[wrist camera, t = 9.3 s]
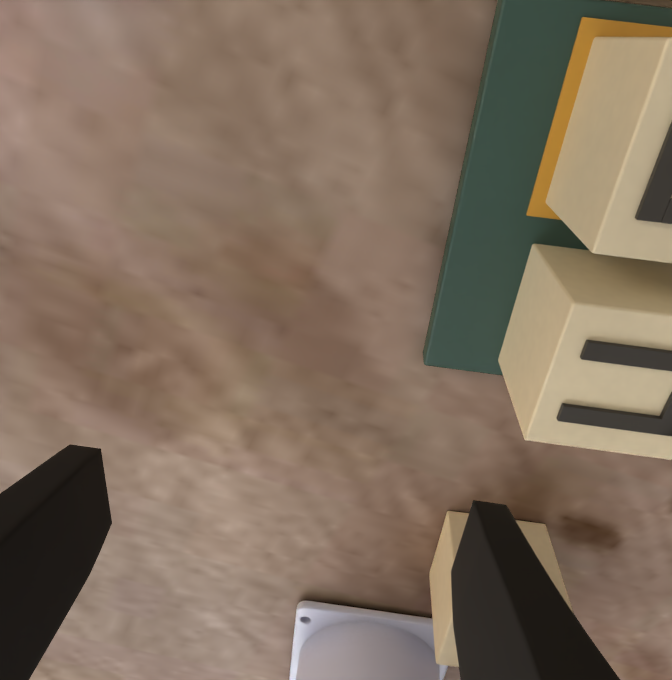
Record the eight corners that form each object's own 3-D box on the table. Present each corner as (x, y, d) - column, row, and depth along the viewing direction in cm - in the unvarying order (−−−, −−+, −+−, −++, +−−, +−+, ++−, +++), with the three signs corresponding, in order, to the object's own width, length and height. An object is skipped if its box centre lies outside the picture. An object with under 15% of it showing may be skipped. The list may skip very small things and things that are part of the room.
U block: (621, 376, 18) (682, 466, 14) (497, 360, 18) (524, 444, 15) (672, 260, 16) (759, 328, 12) (531, 242, 16) (574, 305, 12)
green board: (675, 387, 19) (687, 402, 18) (422, 354, 19) (423, 367, 19) (853, 31, 14) (882, 31, 13) (499, -9, 14) (505, -12, 13)
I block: (519, 586, 25) (542, 684, 21) (428, 573, 25) (435, 668, 21) (546, 522, 23) (576, 619, 19) (447, 509, 23) (458, 602, 19)
